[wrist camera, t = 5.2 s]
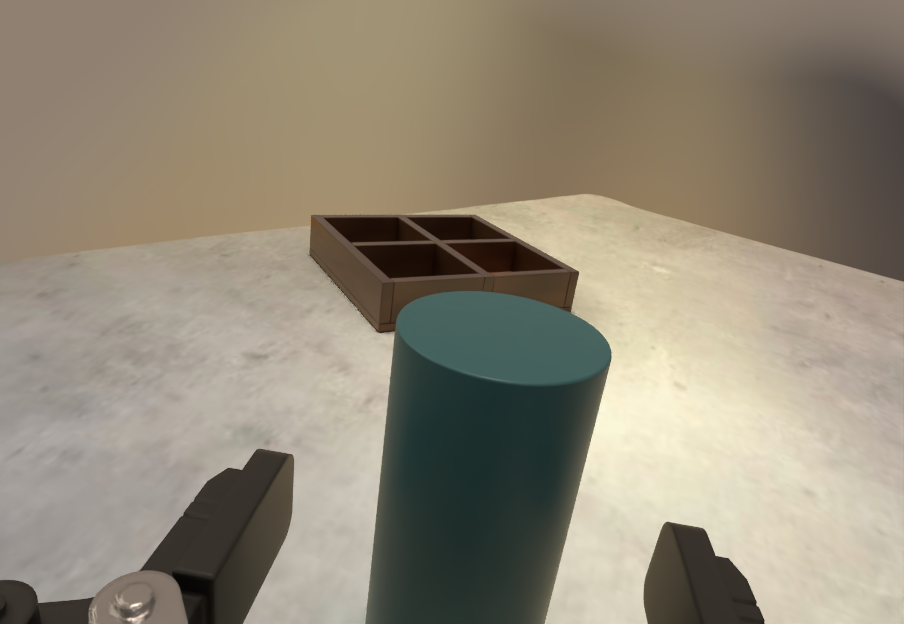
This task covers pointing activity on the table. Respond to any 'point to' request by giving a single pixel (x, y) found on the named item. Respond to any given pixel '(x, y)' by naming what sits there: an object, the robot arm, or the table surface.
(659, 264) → the table surface
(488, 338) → the tall teal cylinder
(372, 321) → the grid
